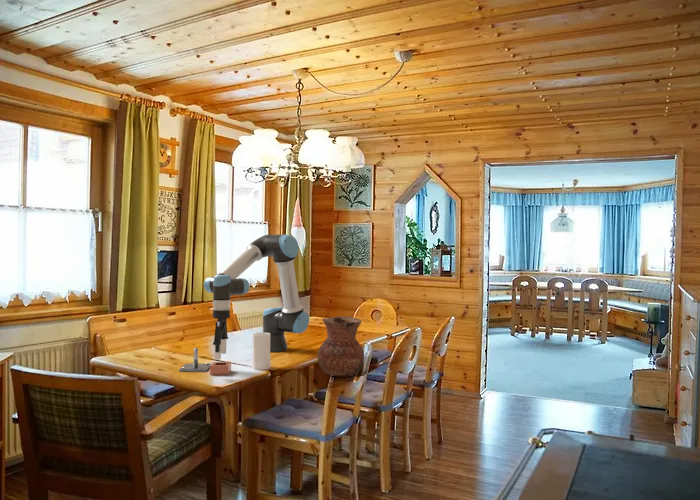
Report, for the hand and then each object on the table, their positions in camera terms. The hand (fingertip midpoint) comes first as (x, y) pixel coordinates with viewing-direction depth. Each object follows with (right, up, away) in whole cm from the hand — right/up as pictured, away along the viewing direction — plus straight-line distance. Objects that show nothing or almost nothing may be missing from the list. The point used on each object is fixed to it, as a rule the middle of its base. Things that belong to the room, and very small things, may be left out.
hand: (220, 356), depth 245 cm
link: (0, -7, 0) cm, 7 cm away
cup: (+16, -8, +11) cm, 21 cm away
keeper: (-13, -7, +8) cm, 17 cm away
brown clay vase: (+54, -8, +2) cm, 55 cm away
